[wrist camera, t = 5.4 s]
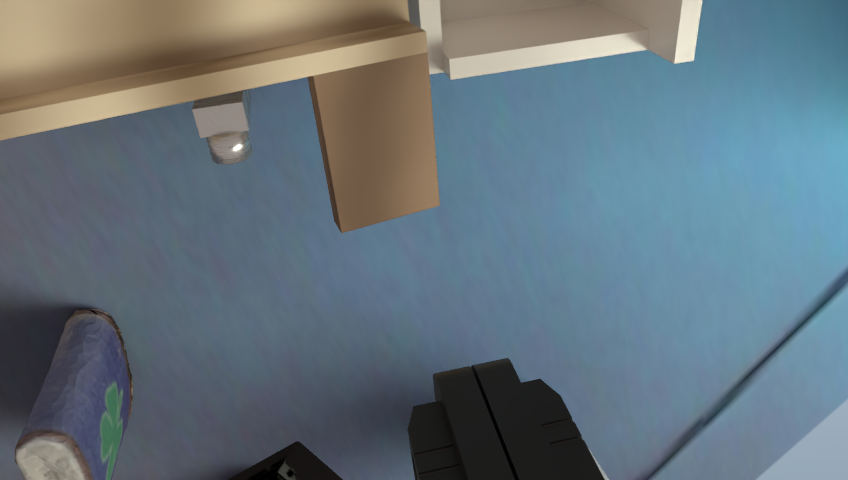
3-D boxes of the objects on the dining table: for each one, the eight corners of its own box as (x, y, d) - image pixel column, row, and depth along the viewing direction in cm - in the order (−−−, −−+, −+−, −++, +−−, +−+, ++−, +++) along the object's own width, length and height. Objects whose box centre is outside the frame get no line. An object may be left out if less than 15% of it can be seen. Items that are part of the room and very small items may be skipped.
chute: (359, -185, 22) (408, -193, 18) (398, 162, 29) (439, 205, 25) (-154, -139, 17) (-223, -138, 14) (39, 254, 24) (26, 321, 21)
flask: (63, 305, 33) (-9, 478, 24) (125, 305, 34) (77, 472, 25) (83, 433, 38) (29, 617, 29) (138, 430, 38) (101, 608, 29)
